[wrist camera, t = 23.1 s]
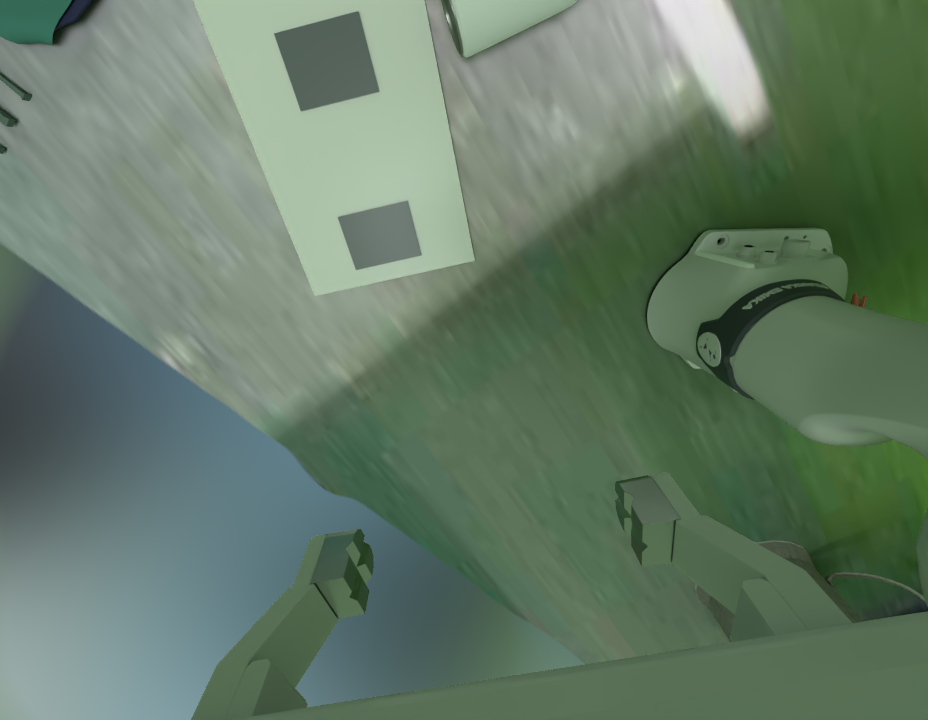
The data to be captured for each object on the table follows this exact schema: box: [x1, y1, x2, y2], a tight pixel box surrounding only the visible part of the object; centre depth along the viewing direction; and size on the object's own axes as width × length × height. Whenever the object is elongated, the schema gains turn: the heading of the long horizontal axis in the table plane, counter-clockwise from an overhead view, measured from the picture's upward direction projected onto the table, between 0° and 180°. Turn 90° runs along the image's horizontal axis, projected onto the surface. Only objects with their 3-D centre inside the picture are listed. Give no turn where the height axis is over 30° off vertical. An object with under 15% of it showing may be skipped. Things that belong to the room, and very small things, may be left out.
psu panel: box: [193, 0, 475, 296], centre depth 38 cm, size 20×28×1 cm
